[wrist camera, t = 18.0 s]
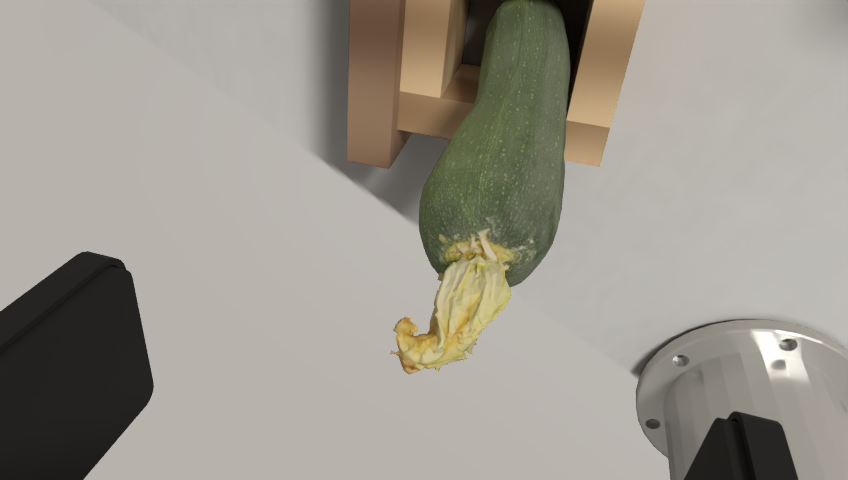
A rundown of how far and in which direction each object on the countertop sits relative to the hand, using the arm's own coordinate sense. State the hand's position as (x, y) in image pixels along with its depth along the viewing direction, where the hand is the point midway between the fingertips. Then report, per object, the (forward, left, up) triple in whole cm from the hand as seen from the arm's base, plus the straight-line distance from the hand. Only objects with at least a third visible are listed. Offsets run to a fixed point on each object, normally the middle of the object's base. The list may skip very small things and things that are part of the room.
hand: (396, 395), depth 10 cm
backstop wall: (0, +6, -24) cm, 24 cm away
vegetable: (0, 0, -24) cm, 24 cm away
